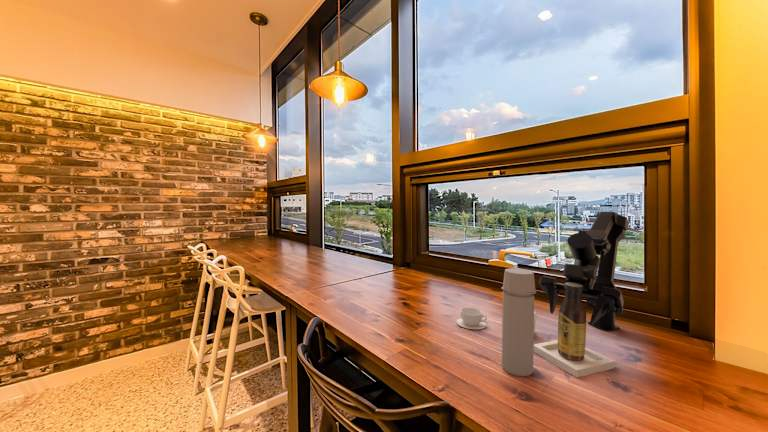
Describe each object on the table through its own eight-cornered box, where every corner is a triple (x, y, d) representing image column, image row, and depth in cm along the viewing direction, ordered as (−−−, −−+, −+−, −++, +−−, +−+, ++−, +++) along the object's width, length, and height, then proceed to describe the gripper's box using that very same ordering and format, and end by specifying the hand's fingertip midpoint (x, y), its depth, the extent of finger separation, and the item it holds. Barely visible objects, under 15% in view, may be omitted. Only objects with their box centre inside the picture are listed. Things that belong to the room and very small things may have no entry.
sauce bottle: (553, 348, 79) (555, 279, 78) (579, 351, 77) (580, 281, 77) (562, 361, 72) (564, 286, 72) (590, 364, 71) (591, 287, 70)
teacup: (455, 328, 94) (455, 314, 94) (458, 317, 104) (458, 304, 103) (486, 332, 91) (486, 318, 91) (486, 321, 100) (486, 308, 100)
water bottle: (533, 382, 64) (535, 276, 64) (497, 372, 69) (499, 272, 68) (536, 364, 72) (537, 268, 72) (503, 355, 76) (505, 265, 76)
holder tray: (566, 344, 83) (567, 338, 83) (614, 368, 70) (614, 361, 70) (532, 350, 79) (532, 344, 79) (576, 377, 66) (576, 370, 66)
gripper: (541, 249, 83) (524, 292, 77) (622, 257, 69) (610, 312, 62) (551, 271, 89) (536, 313, 82) (628, 283, 74) (617, 336, 68)
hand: (570, 317), depth 73 cm, fingers open, 9 cm apart
